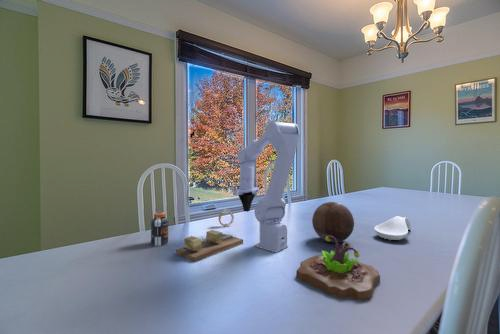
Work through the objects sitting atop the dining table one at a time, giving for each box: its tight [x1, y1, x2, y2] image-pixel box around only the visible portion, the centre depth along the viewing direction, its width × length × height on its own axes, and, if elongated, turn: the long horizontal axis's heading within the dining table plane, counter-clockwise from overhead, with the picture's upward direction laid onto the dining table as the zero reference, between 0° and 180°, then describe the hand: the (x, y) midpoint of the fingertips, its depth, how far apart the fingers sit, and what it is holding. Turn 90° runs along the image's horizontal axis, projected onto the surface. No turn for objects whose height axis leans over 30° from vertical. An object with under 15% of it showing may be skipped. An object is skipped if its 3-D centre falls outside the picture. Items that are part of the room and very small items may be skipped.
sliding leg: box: [205, 229, 223, 243], centre depth 89 cm, size 6×3×4 cm, turn 50°
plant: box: [295, 235, 381, 301], centre depth 67 cm, size 20×20×11 cm
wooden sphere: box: [311, 201, 355, 243], centre depth 96 cm, size 15×15×15 cm
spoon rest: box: [373, 215, 412, 241], centre depth 104 cm, size 24×12×7 cm, turn 133°
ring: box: [218, 208, 235, 227], centre depth 115 cm, size 7×3×8 cm, turn 108°
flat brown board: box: [175, 233, 244, 263], centre depth 88 cm, size 10×22×5 cm, turn 140°
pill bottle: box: [150, 211, 169, 247], centre depth 92 cm, size 6×6×11 cm
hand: (246, 211), depth 105 cm, fingers closed
